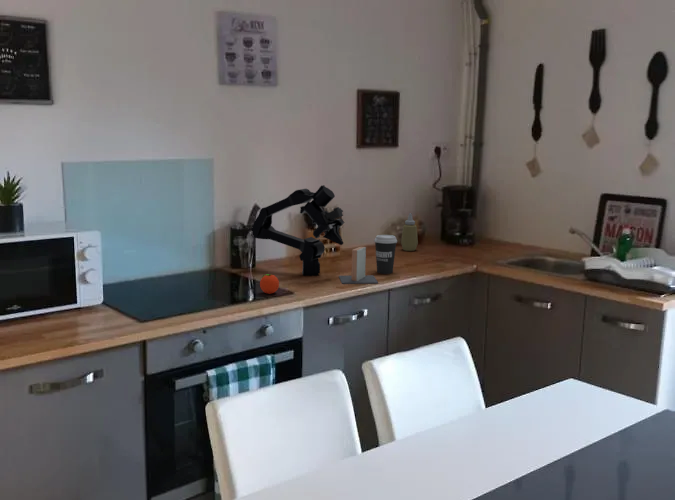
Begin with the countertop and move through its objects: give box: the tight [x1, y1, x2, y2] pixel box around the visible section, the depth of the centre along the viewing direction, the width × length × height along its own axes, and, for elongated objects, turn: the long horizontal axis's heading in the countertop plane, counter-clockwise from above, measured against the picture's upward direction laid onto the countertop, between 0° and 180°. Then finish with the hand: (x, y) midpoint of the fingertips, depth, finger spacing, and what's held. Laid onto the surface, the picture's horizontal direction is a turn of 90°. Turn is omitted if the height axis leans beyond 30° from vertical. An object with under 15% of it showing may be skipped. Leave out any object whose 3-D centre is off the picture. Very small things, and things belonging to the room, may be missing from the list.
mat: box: [338, 274, 379, 285], centre depth 275 cm, size 14×12×1 cm
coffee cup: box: [373, 234, 398, 275], centre depth 288 cm, size 10×10×15 cm
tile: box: [351, 246, 367, 281], centre depth 274 cm, size 2×8×12 cm, turn 156°
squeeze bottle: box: [400, 212, 419, 252], centre depth 337 cm, size 8×8×18 cm
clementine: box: [259, 273, 280, 295], centre depth 252 cm, size 8×7×7 cm
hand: (342, 244), depth 276 cm, fingers closed
